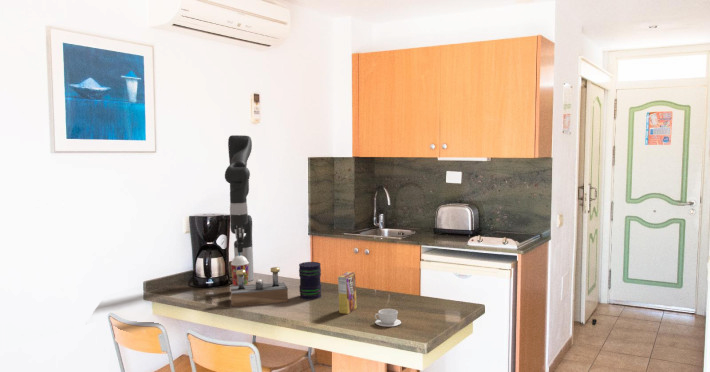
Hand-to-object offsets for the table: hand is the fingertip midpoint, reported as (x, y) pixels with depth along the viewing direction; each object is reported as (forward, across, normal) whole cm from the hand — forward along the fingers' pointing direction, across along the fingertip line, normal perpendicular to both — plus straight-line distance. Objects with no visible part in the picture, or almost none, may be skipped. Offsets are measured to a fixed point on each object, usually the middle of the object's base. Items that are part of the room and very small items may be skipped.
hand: (240, 252), depth 251 cm
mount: (+22, 0, +8) cm, 23 cm away
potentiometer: (+16, +4, +8) cm, 18 cm away
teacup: (+23, +47, +52) cm, 74 cm away
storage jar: (+22, +1, +30) cm, 38 cm away
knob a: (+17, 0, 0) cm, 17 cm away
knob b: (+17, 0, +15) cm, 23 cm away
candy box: (+22, +27, +42) cm, 54 cm away
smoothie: (+22, -18, 0) cm, 29 cm away
